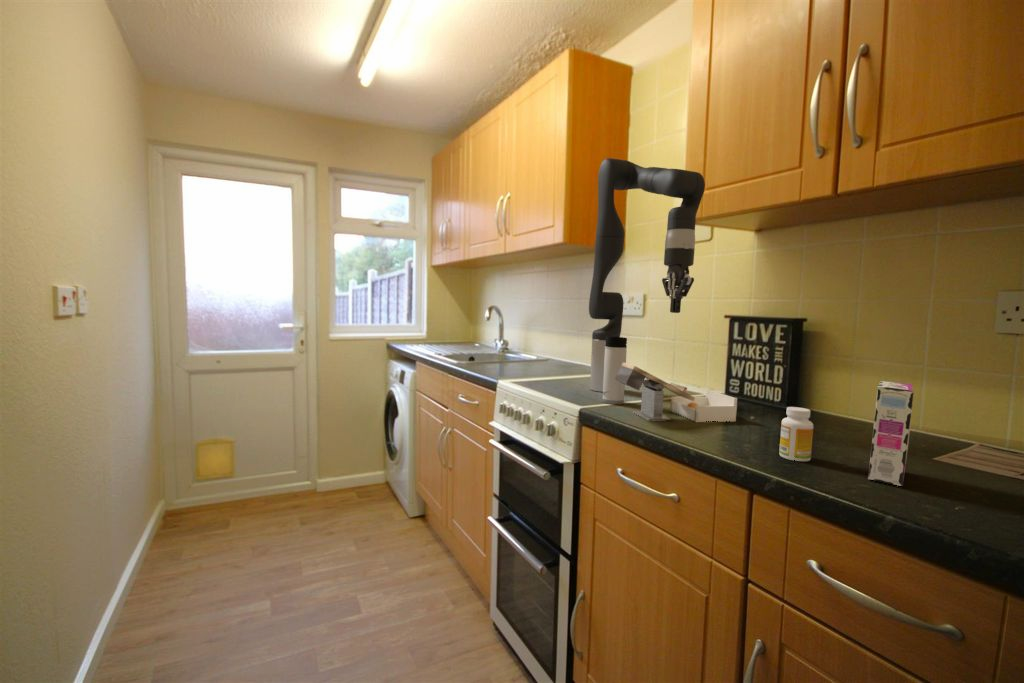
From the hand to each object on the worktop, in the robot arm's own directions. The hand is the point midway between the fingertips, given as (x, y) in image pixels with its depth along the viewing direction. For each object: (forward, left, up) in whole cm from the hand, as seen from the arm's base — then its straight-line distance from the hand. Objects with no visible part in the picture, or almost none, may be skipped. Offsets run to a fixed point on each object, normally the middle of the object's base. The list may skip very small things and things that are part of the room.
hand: (675, 312), depth 128 cm
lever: (+5, -9, -22) cm, 24 cm away
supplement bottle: (+39, +5, -28) cm, 48 cm away
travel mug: (-13, -11, -28) cm, 32 cm away
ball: (+5, +4, -25) cm, 26 cm away
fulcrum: (+5, -8, -27) cm, 29 cm away
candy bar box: (+50, +14, -28) cm, 59 cm away
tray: (+5, +7, -27) cm, 29 cm away
